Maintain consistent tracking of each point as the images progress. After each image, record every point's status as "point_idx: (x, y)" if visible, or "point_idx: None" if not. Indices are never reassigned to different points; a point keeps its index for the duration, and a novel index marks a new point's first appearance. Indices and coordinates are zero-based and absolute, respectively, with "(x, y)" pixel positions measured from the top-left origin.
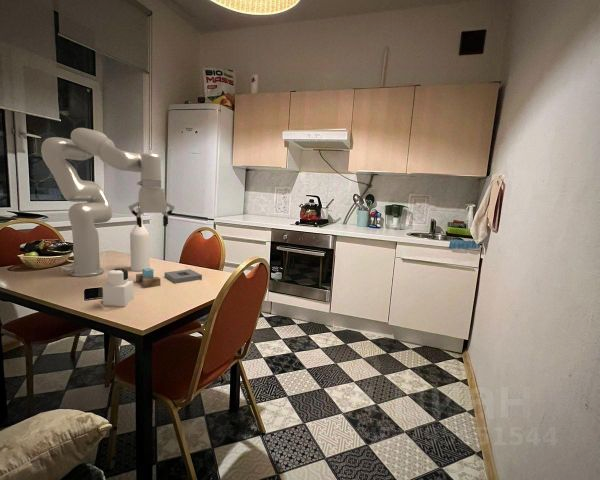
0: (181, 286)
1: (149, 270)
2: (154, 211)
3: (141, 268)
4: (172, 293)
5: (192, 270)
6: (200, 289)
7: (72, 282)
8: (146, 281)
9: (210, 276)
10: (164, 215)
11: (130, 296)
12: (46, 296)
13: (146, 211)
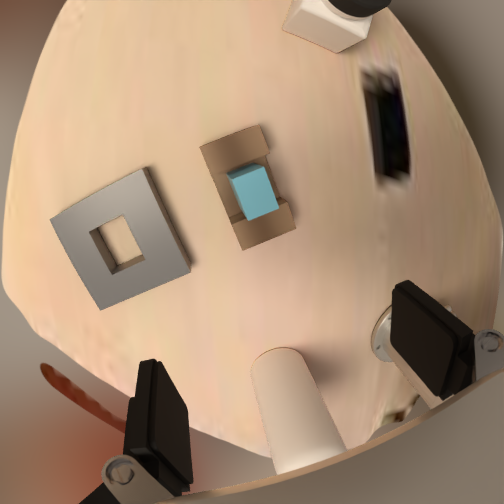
0: (124, 141)
1: (248, 172)
2: (350, 468)
3: (275, 354)
4: (158, 63)
5: (88, 290)
6: (66, 101)
7: (432, 247)
8: (252, 127)
9: (37, 262)
10: (167, 484)
11: (292, 6)
12: (462, 141)
13: (480, 394)
